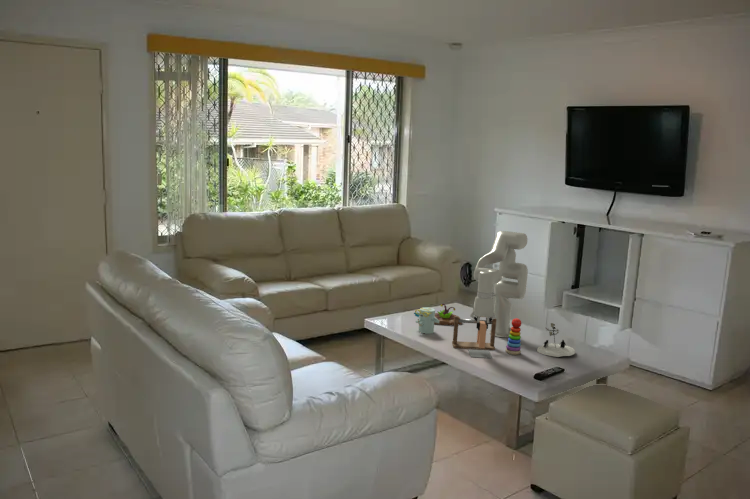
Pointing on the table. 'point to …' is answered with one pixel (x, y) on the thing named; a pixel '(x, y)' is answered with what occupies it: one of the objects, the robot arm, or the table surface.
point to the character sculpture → (426, 320)
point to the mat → (480, 353)
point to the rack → (473, 344)
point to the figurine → (555, 347)
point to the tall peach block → (481, 335)
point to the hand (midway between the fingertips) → (482, 329)
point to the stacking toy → (514, 338)
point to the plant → (445, 316)
